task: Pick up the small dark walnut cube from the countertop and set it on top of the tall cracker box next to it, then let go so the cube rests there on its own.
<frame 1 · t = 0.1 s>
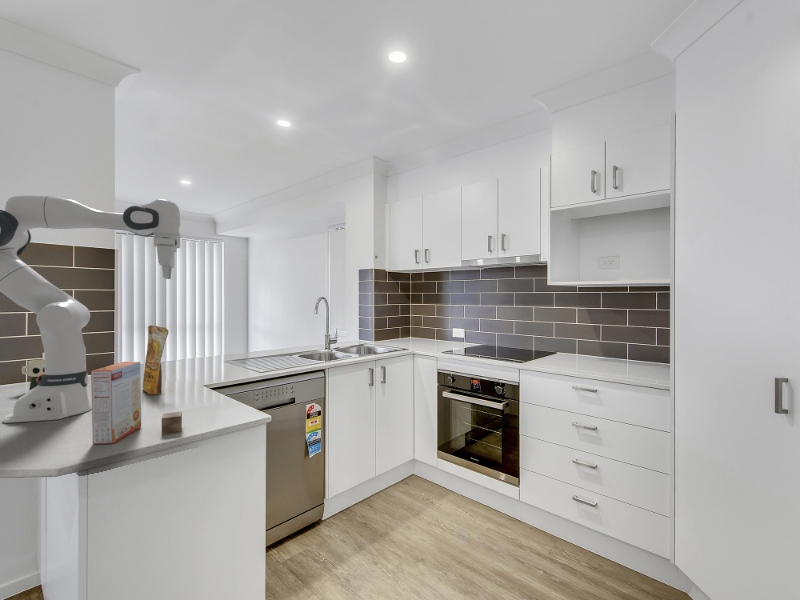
hand: (167, 278, 149), 48 cm above the counter, tool pointing down, fingers open, 8 cm apart
cracker box: (117, 436, 114), on the counter
walnut cube: (172, 431, 119), on the counter
character mug: (39, 391, 166), on the counter
pancake mix bag: (153, 391, 167), on the counter
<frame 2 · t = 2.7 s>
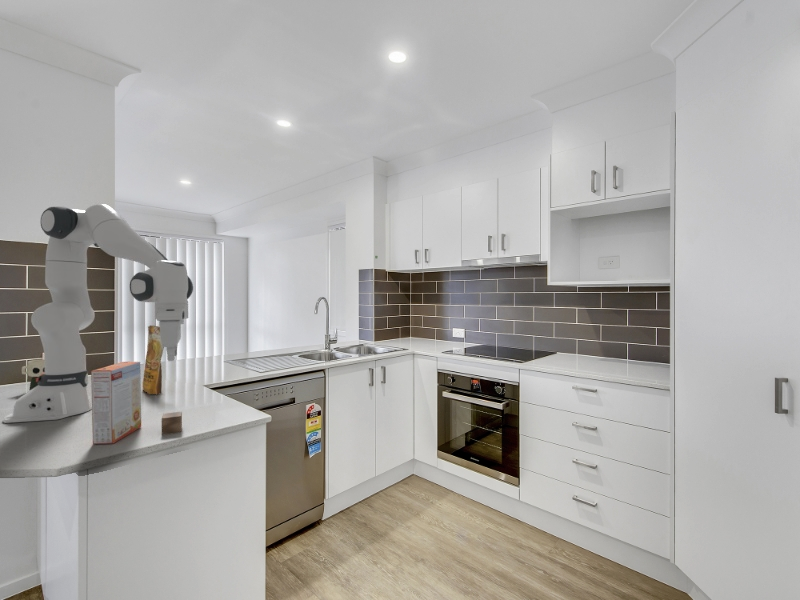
hand: (172, 358, 119), 22 cm above the counter, tool pointing down, fingers open, 8 cm apart
nothing on the counter moved.
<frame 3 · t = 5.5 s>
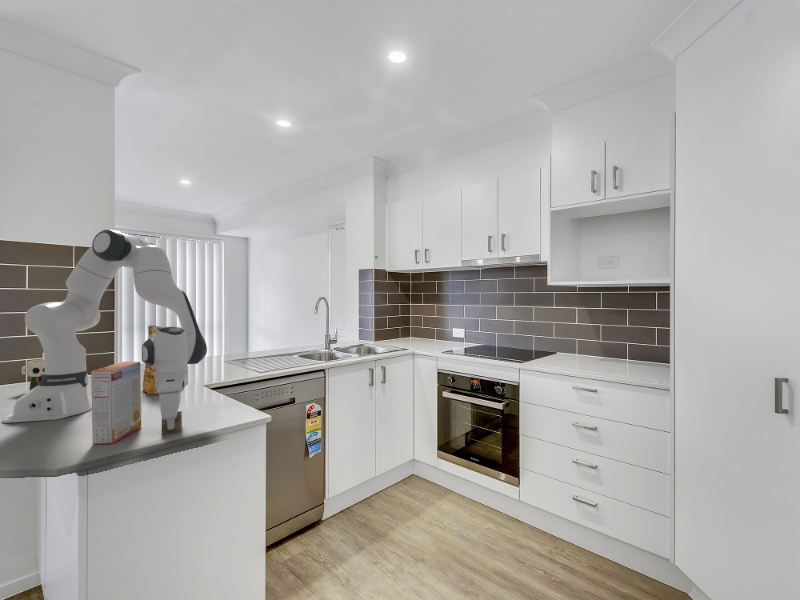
hand: (172, 425, 119), 2 cm above the counter, tool pointing down, fingers closed on walnut cube, 5 cm apart
walnut cube: (172, 430, 119), on the counter, touching gripper
everything else where it was.
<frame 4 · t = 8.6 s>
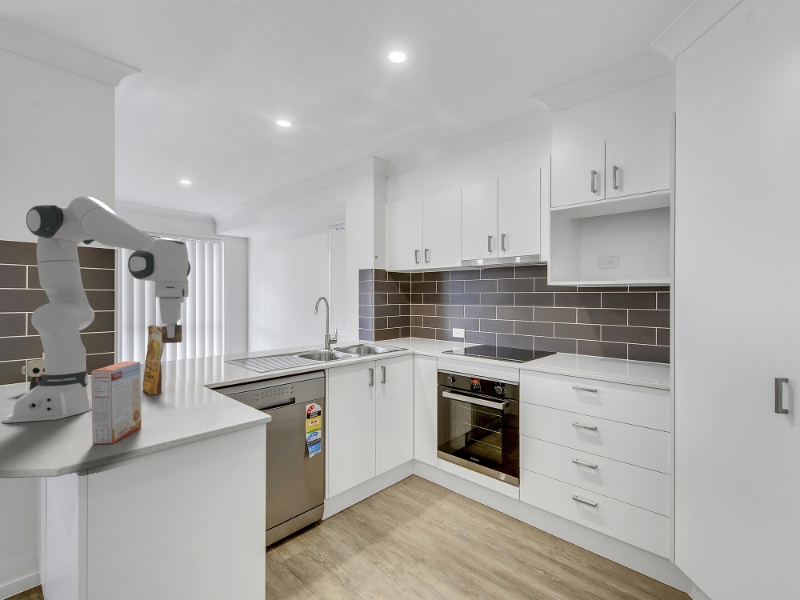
hand: (172, 336, 118), 29 cm above the counter, tool pointing down, fingers closed on walnut cube, 5 cm apart
walnut cube: (172, 341, 119), point 27 cm above the counter, touching gripper
everything else where it was.
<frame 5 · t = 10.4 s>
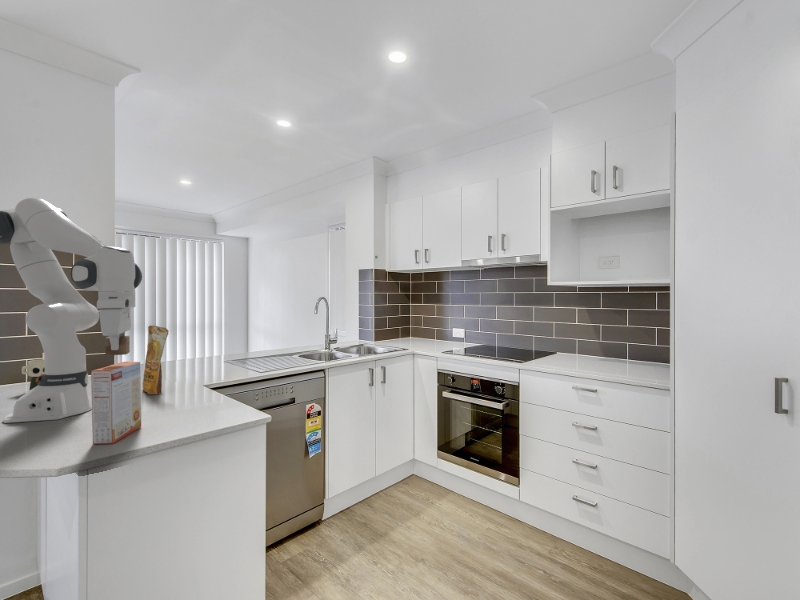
hand: (117, 348, 114), 26 cm above the counter, tool pointing down, fingers closed on walnut cube, 5 cm apart
walnut cube: (117, 353, 114), point 24 cm above the counter, touching gripper
everything else where it was.
when the fingers open (24 cm above the counter, at t = 11.7 s): walnut cube drops 1 cm, resting on cracker box.
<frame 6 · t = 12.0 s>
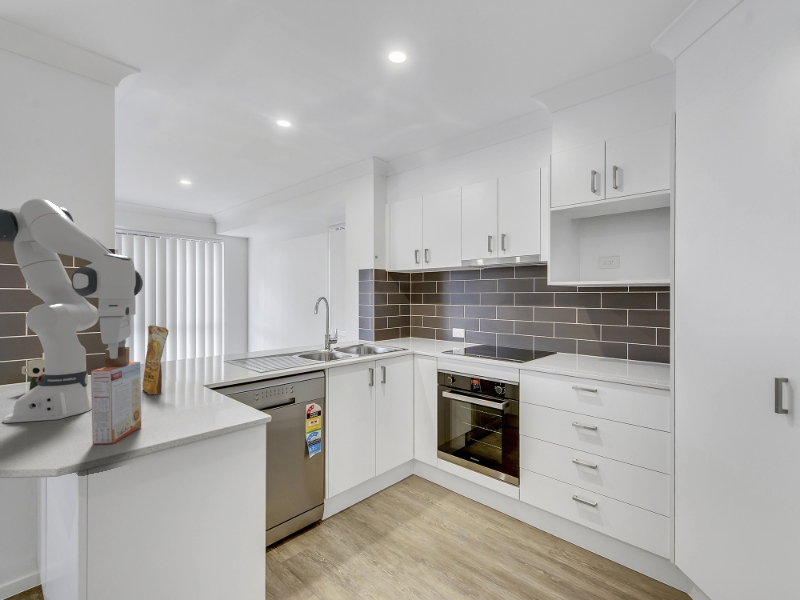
hand: (117, 356, 114), 24 cm above the counter, tool pointing down, fingers open, 8 cm apart
cracker box: (117, 436, 114), on the counter, touching walnut cube
walnut cube: (117, 365, 114), point 21 cm above the counter, touching cracker box
everything else where it was.
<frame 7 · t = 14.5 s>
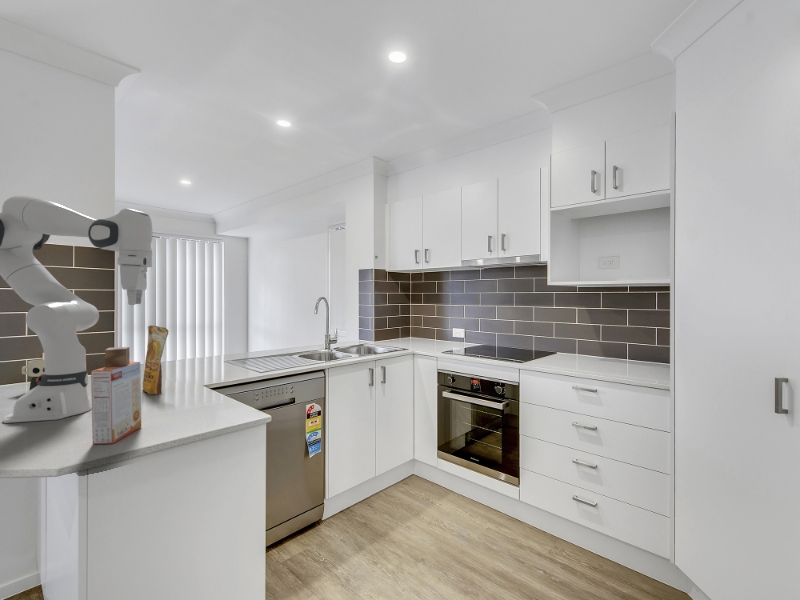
hand: (135, 304, 123), 39 cm above the counter, tool pointing down, fingers open, 8 cm apart
nothing on the counter moved.
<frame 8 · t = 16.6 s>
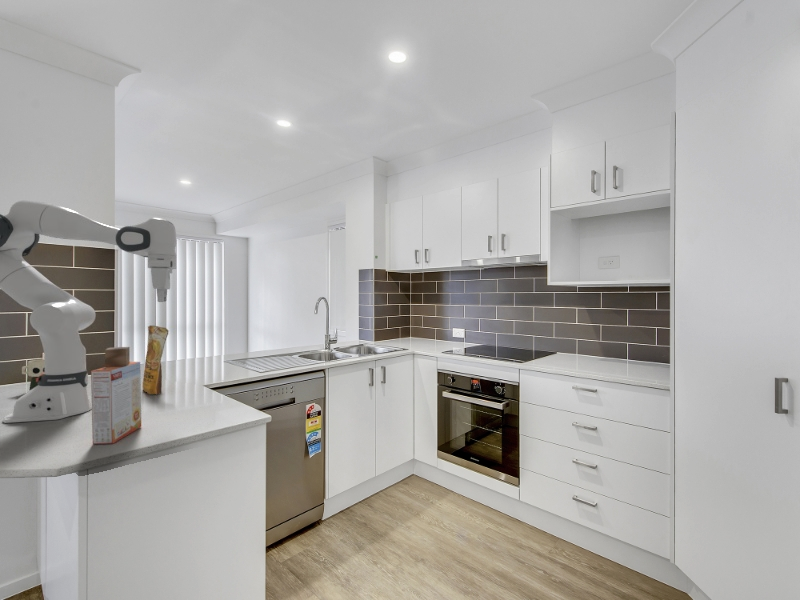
hand: (162, 301, 140), 39 cm above the counter, tool pointing down, fingers open, 8 cm apart
nothing on the counter moved.
at the end: walnut cube inside the target area on the cracker box (0.0 cm from its centre), point 21.1 cm above the cracker box's base; cracker box tilted 0°; the gripper is holding nothing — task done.
